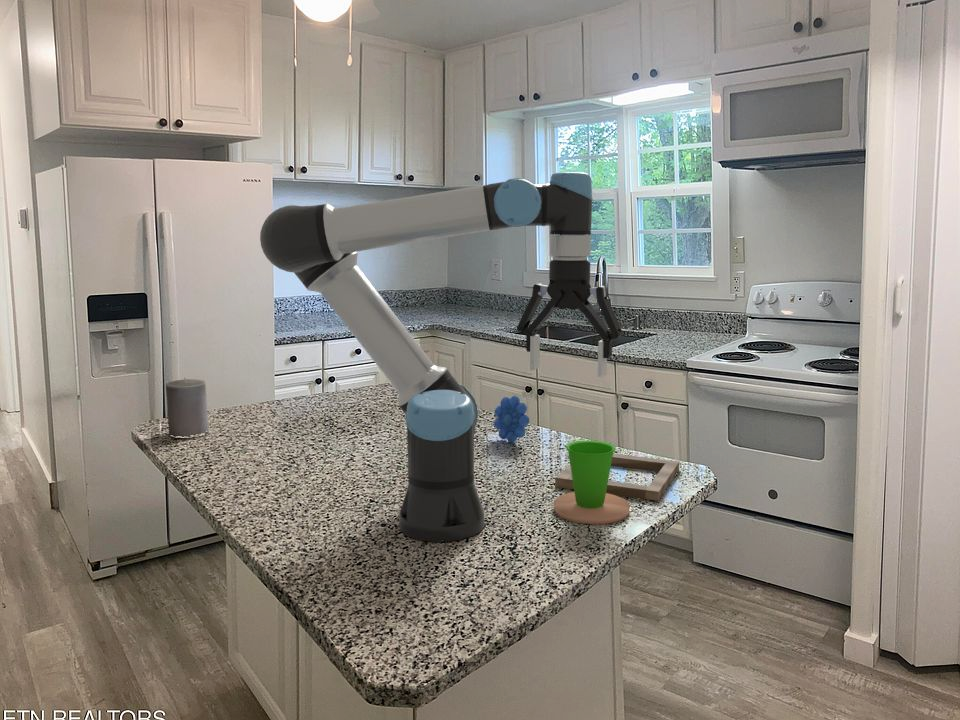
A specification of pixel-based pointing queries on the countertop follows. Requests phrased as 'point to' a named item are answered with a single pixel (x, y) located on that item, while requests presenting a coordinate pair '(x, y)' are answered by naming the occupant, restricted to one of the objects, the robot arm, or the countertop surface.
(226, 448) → the countertop surface
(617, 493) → the frame
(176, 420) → the pillar candle
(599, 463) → the cup
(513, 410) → the grapes
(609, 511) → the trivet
